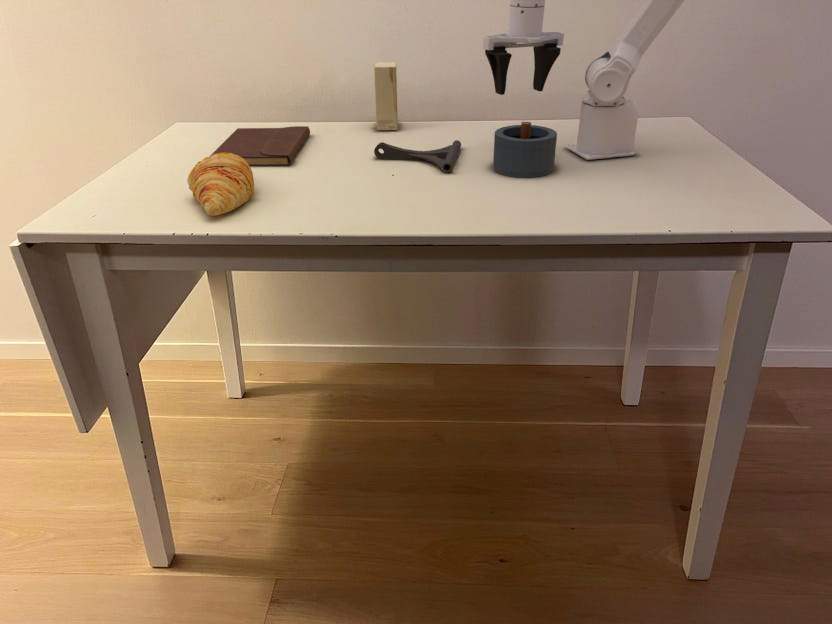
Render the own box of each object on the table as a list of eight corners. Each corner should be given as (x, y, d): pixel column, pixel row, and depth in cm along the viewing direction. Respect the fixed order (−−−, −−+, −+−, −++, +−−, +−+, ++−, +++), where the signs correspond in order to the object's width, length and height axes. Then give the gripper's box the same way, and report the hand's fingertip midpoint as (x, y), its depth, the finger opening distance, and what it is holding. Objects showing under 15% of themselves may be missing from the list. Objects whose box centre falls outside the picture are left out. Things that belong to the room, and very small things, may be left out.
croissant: (238, 242, 103) (257, 195, 100) (170, 215, 100) (188, 166, 97) (250, 192, 121) (267, 150, 117) (193, 168, 118) (209, 124, 114)
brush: (521, 160, 122) (524, 119, 118) (537, 164, 119) (540, 122, 116) (509, 164, 120) (511, 123, 116) (525, 169, 117) (528, 126, 114)
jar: (538, 157, 125) (541, 122, 122) (563, 174, 117) (567, 137, 113) (484, 162, 123) (486, 127, 120) (506, 180, 115) (508, 143, 111)
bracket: (383, 147, 133) (382, 132, 131) (461, 149, 130) (461, 133, 129) (366, 170, 121) (365, 154, 119) (451, 173, 118) (452, 157, 117)
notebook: (208, 166, 125) (206, 154, 124) (237, 136, 141) (235, 126, 140) (291, 165, 124) (290, 154, 123) (310, 135, 140) (309, 125, 139)
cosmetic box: (397, 131, 142) (396, 66, 135) (376, 131, 142) (373, 67, 136) (398, 123, 147) (396, 60, 141) (377, 123, 148) (375, 61, 141)
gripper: (500, 10, 110) (493, 100, 117) (578, 6, 114) (566, 93, 122) (479, 5, 115) (474, 91, 123) (554, 2, 120) (545, 85, 127)
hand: (519, 91), depth 123 cm, fingers open, 7 cm apart
